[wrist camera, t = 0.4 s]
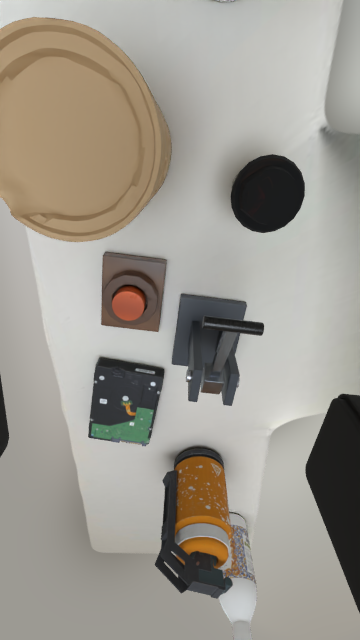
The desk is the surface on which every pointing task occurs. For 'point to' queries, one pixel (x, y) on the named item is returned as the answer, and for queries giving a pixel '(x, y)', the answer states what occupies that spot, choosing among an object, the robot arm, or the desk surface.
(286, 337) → the desk surface
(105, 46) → the container
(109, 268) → the button block
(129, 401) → the disk drive
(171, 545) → the canister
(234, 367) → the bracket
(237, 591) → the bath foam
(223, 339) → the lever
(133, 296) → the button
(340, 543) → the robot arm
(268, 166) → the coffee cup
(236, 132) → the desk surface
